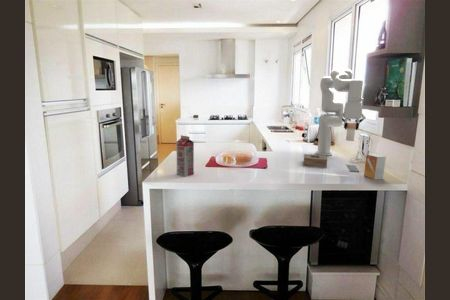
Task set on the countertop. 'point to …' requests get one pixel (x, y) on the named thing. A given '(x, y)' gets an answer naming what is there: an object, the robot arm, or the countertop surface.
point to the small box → (374, 166)
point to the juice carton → (185, 157)
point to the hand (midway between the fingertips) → (351, 129)
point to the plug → (350, 131)
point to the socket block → (315, 160)
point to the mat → (352, 168)
